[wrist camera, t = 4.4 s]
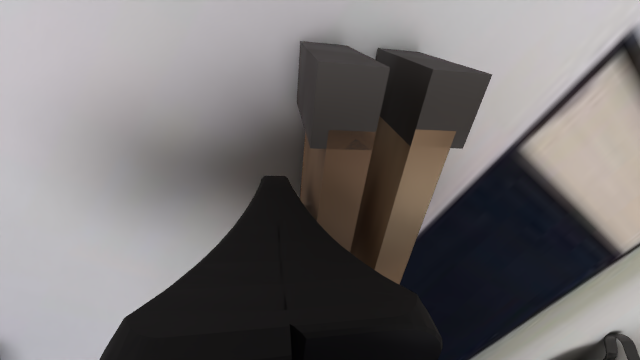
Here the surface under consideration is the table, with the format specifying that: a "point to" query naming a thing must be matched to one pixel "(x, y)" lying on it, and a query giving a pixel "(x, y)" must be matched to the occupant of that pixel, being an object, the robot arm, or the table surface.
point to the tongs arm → (337, 131)
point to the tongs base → (411, 152)
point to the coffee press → (627, 344)
